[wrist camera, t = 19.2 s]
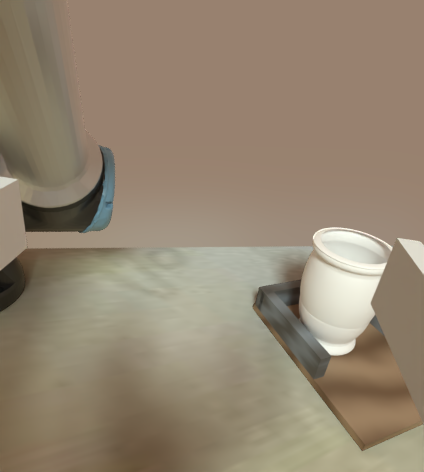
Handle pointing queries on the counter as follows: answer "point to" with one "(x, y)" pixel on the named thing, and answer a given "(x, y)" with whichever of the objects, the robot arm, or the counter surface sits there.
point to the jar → (341, 286)
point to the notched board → (344, 370)
